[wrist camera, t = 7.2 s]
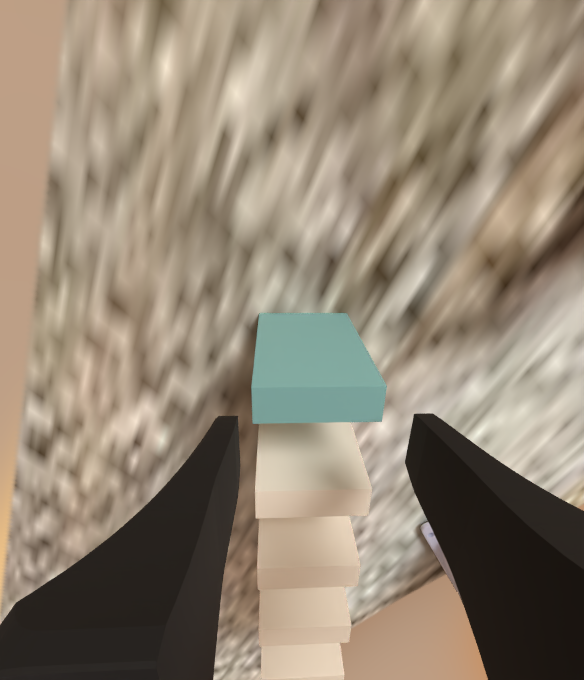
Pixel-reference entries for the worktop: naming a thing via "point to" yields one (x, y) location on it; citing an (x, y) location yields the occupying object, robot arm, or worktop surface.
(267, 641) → the domino
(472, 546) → the robot arm
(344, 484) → the domino
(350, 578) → the domino
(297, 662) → the domino
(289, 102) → the worktop surface
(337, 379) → the end tile
